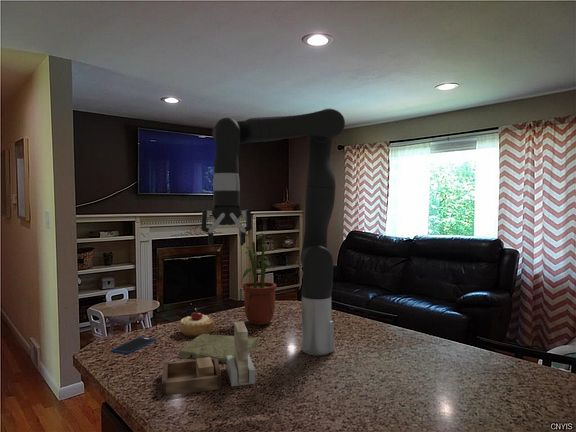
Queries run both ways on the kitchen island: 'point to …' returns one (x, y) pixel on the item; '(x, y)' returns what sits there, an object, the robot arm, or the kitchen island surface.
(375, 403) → the kitchen island surface
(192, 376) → the wooden tray
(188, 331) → the pastry
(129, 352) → the cell phone
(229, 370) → the slot stand
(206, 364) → the oak offcut upper
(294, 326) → the kitchen island surface
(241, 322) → the birch sheet
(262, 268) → the potted plant
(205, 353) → the decorative tile
